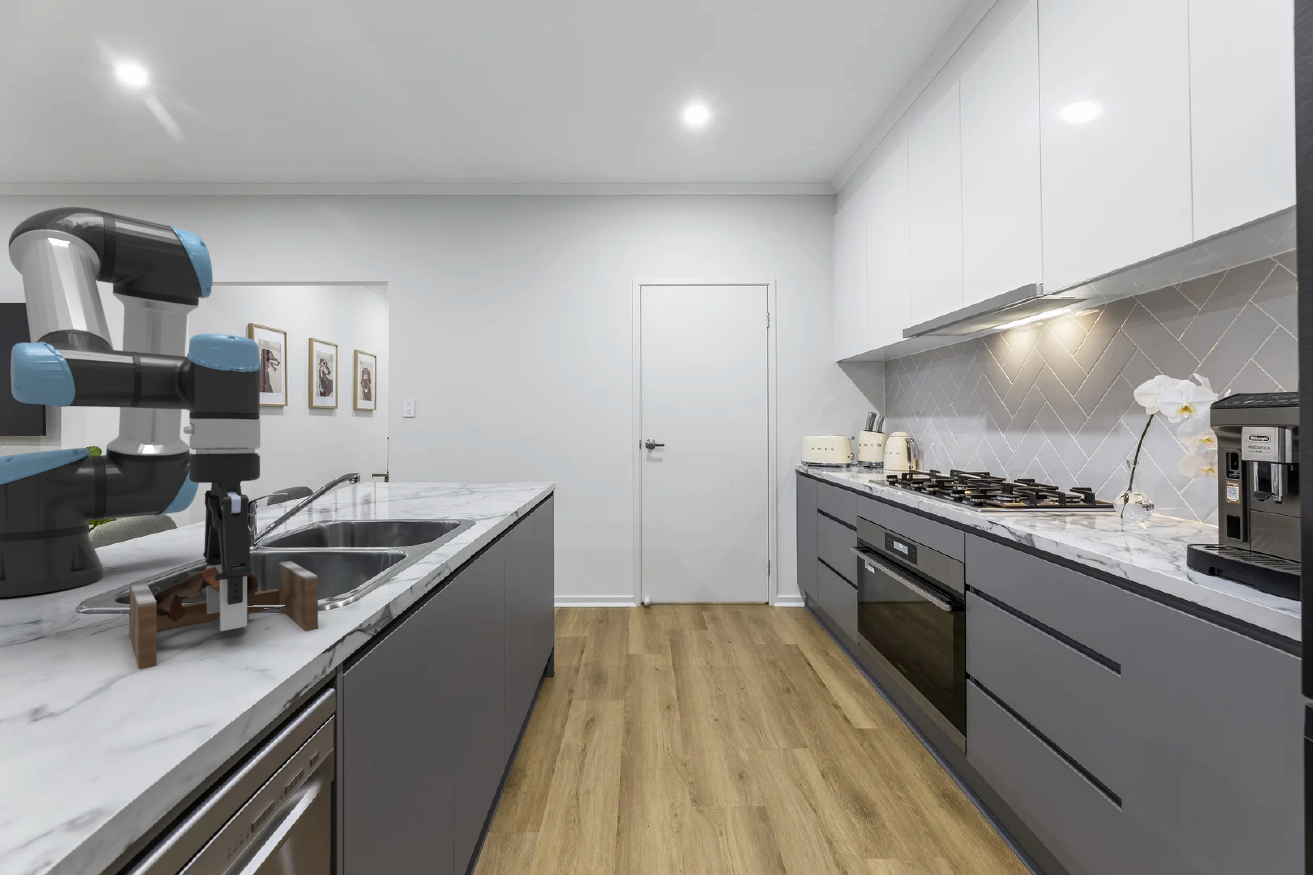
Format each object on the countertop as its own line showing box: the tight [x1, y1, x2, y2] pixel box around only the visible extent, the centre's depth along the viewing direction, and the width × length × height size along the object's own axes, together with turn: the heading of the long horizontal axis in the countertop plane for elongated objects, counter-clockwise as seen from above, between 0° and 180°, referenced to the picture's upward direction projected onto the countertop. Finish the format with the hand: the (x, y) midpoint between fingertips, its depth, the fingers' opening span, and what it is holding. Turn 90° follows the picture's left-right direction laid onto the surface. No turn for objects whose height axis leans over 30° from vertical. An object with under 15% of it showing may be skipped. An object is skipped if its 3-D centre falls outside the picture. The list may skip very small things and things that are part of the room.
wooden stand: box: [128, 560, 319, 670], centre depth 75 cm, size 16×18×7 cm
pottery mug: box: [153, 567, 259, 622], centre depth 75 cm, size 12×9×8 cm
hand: (226, 619), depth 75 cm, fingers closed on pottery mug, 9 cm apart
